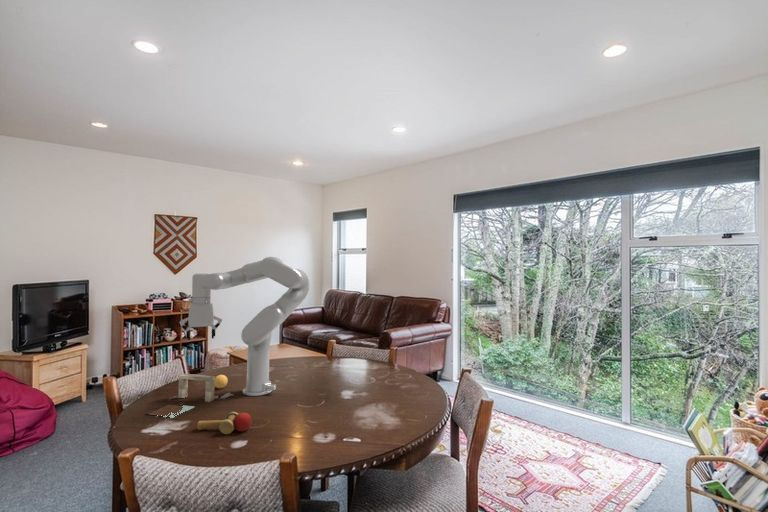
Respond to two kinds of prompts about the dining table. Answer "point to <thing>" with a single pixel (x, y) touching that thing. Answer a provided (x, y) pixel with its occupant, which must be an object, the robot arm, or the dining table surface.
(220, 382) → the ball
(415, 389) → the dining table surface
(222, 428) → the kendama
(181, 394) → the bridge
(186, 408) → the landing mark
